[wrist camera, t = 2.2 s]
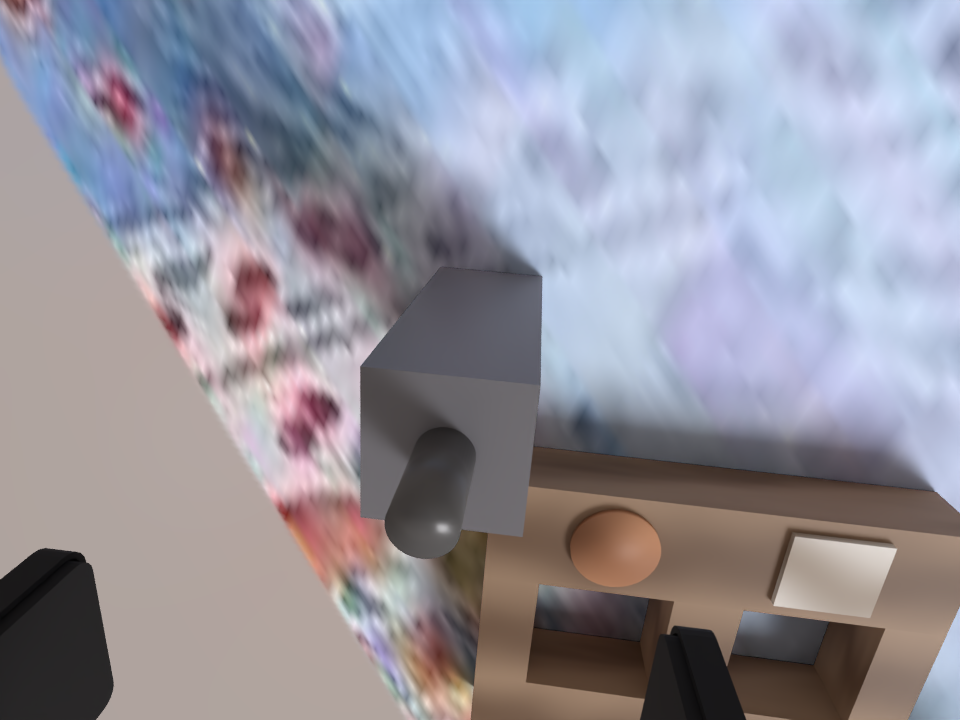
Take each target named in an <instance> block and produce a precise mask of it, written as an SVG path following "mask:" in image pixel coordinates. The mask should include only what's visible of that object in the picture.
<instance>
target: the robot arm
mask: <svg viewBox="0 0 960 720" xmlns="http://www.w3.org/2000/svg"><path fill="white" fill-rule="evenodd" d="M113 686H114V685H113V676H112V671H111V665H110V660H109V655H108V649H107V644H106V639H105V633H104V627H103V622H102V617H101V611H100V606H99V600H98V595H97V590H96V584H95V579H94V574H93V569H92V566H91V565H90V564H89V563H86V560H85V557H84V556H83V555H82V554H81V553H78V552H72V551H64V550H55V549H47V548H44V549H40V550H38V551H36V552H35V553H33V554H32V555H30V556H29V557H28V558H27V559H25V560H24V561H23V562H22V563H20V564H19V565H18V566H17V567H16V568H14V569H13V570H12V571H10V572H9V573H8V574H7V575H5V576H4V577H3V578H2V579H0V720H96V719H97V718H98V716H99V715H100V714H101V712H102V711H103V710H104V708H105V707H106V705H107V704H108V702H109V700H110V698H111V695H112V692H113ZM640 720H746V717H745V714H744V712H743V709H742V706H741V704H740V701H739V698H738V695H737V693H736V690H735V687H734V685H733V682H732V679H731V676H730V674H729V671H728V668H727V666H726V663H725V660H724V657H723V655H722V652H721V649H720V647H719V644H718V641H717V638H716V636H715V634H714V632H713V631H711V630H708V629H700V628H692V627H684V626H673V628H672V629H671V632H670V635H668V634H660V636H659V638H658V642H657V646H656V651H655V655H654V660H653V664H652V669H651V673H650V677H649V682H648V686H647V691H646V695H645V699H644V704H643V708H642V713H641V717H640Z"/></svg>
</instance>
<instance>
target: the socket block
mask: <svg viewBox="0 0 960 720" xmlns="http://www.w3.org/2000/svg"><path fill="white" fill-rule="evenodd" d="M539 584H543V585H551V586H558V587H566V588H574V589H582V590H589V591H597V592H605V593H613V594H621V595H628V596H636V597H644V598H649V603H648V607H647V612H646V616H645V621H644V625H643V630H642V634H641V639H640V642H635V641H628V640H620V639H613V638H605V637H598V636H591V635H583V634H576V633H568V632H561V631H553V630H546V629H538V628H533V625H534V618H535V610H536V603H537V595H538V588H539ZM959 607H960V513H959V512H958V511H957V510H956V509H954V508H953V507H952V506H951V505H950V504H949V503H948V502H947V501H946V500H945V499H943V498H942V497H941V496H940V495H939V494H938V493H937V492H933V491H924V490H915V489H906V488H897V487H888V486H879V485H870V484H862V483H853V482H844V481H835V480H826V479H817V478H808V477H799V476H791V475H782V474H773V473H764V472H755V471H746V470H737V469H728V468H720V467H711V466H702V465H693V464H684V463H675V462H666V461H658V460H649V459H640V458H631V457H622V456H613V455H604V454H595V453H587V452H578V451H569V450H560V449H551V448H542V447H533V453H532V462H531V470H530V479H529V487H528V496H527V504H526V513H525V521H524V530H523V537H517V536H509V535H501V534H493V533H488V537H487V548H486V559H485V570H484V581H483V592H482V603H481V613H480V624H479V635H478V646H477V657H476V668H475V679H474V690H473V701H472V711H471V720H640V717H641V713H642V708H643V704H644V699H645V695H646V691H647V686H648V682H649V677H650V673H651V669H652V664H653V660H654V655H655V651H656V646H657V642H658V638H659V636H660V634H668V635H670V632H671V629H672V628H673V626H684V627H692V628H700V629H708V630H711V631H713V632H714V634H715V636H716V638H717V641H718V644H719V647H720V649H721V652H722V655H723V657H724V660H725V663H726V666H727V668H728V671H729V674H730V676H731V679H732V682H733V685H734V687H735V690H736V693H737V695H738V698H739V701H740V704H741V706H742V709H743V712H744V714H745V717H746V720H908V718H909V716H910V714H911V712H912V710H913V707H914V705H915V703H916V701H917V699H918V696H919V694H920V692H921V690H922V688H923V686H924V683H925V681H926V679H927V677H928V675H929V672H930V670H931V668H932V666H933V664H934V662H935V659H936V657H937V655H938V653H939V651H940V648H941V646H942V644H943V642H944V640H945V638H946V635H947V633H948V631H949V629H950V627H951V625H952V622H953V620H954V618H955V616H956V614H957V611H958V609H959ZM744 610H745V611H753V612H760V613H768V614H776V615H784V616H791V617H799V618H807V619H815V620H823V621H830V622H829V624H828V627H827V630H826V633H825V635H824V638H823V641H822V644H821V646H820V649H819V652H818V655H817V657H816V660H815V663H814V665H807V664H800V663H792V662H785V661H777V660H770V659H762V658H755V657H747V656H740V655H732V654H731V652H732V648H733V645H734V641H735V638H736V635H737V631H738V628H739V624H740V621H741V618H742V614H743V611H744Z"/></svg>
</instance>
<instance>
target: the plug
mask: <svg viewBox="0 0 960 720" xmlns="http://www.w3.org/2000/svg"><path fill="white" fill-rule="evenodd" d="M541 322H542V276H534V275H523V274H512V273H501V272H491V271H480V270H469V269H458V268H447V267H440V268H439V270H438V271H437V272H436V273H435V275H434V276H433V277H432V278H431V279H430V281H429V282H428V283H427V284H426V286H425V287H424V288H423V289H422V291H421V292H420V293H419V294H418V296H417V297H416V298H415V299H414V301H413V302H412V303H411V304H410V306H409V307H408V308H407V309H406V310H405V312H404V313H403V314H402V315H401V317H400V318H399V319H398V320H397V322H396V323H395V324H394V325H393V327H392V328H391V329H390V330H389V332H388V333H387V334H386V335H385V337H384V338H383V339H382V340H381V342H380V343H379V344H378V345H377V346H376V348H375V349H374V350H373V351H372V353H371V354H370V355H369V356H368V358H367V359H366V360H365V361H364V363H363V364H362V365H361V366H360V395H361V517H364V518H372V519H380V520H385V530H386V533H387V536H388V537H389V539H390V541H391V542H392V543H393V544H394V546H395V547H397V548H398V549H399V550H400V551H402V552H403V553H405V554H407V555H410V556H412V557H416V558H421V559H432V558H437V557H440V556H443V555H445V554H447V553H448V552H450V551H451V550H452V549H453V548H454V547H455V545H456V544H457V542H458V540H459V537H460V533H461V530H469V531H477V532H485V533H493V534H501V535H509V536H517V537H523V530H524V521H525V513H526V504H527V496H528V487H529V479H530V470H531V462H532V453H533V444H534V436H535V427H536V419H537V410H538V402H539V393H540V382H541Z"/></svg>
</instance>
